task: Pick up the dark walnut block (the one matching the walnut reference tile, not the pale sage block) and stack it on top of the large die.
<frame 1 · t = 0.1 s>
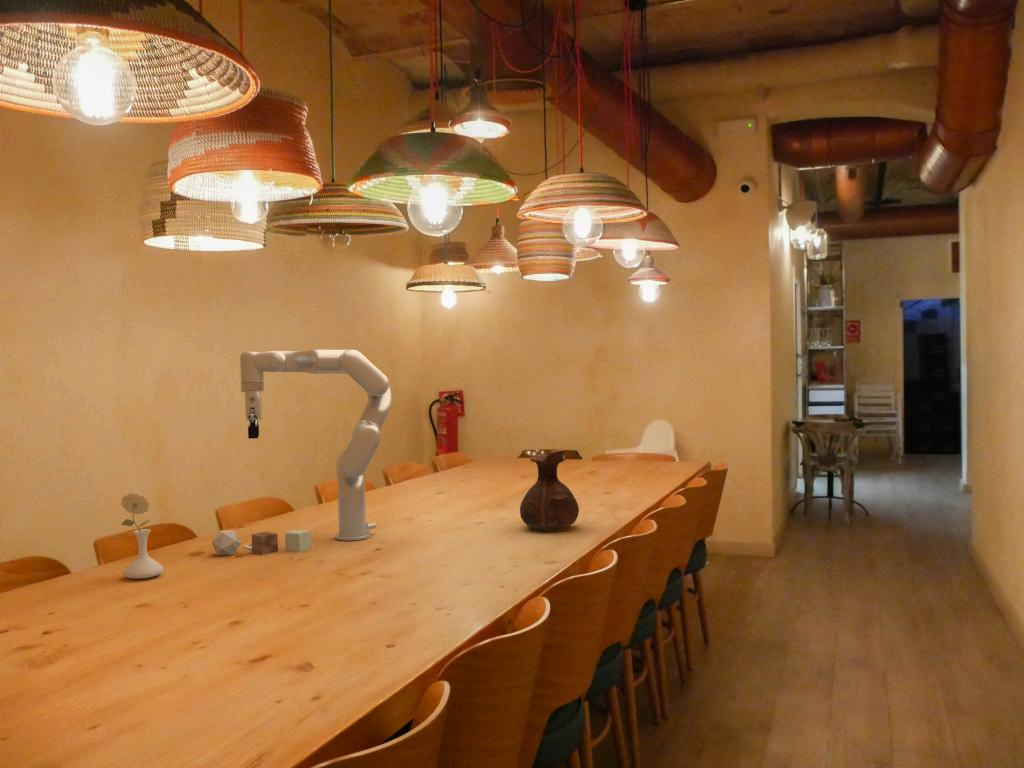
hand: (253, 437, 307), 37 cm above the table, tool pointing down, fingers open, 9 cm apart
walnut block: (265, 551, 296), on the table
dark brown vase: (549, 529, 326), on the table
flower in vase: (141, 577, 265), on the table
die: (226, 555, 293), on the table
sage block: (298, 549, 299), on the table
reference tile: (259, 546, 304), on the table
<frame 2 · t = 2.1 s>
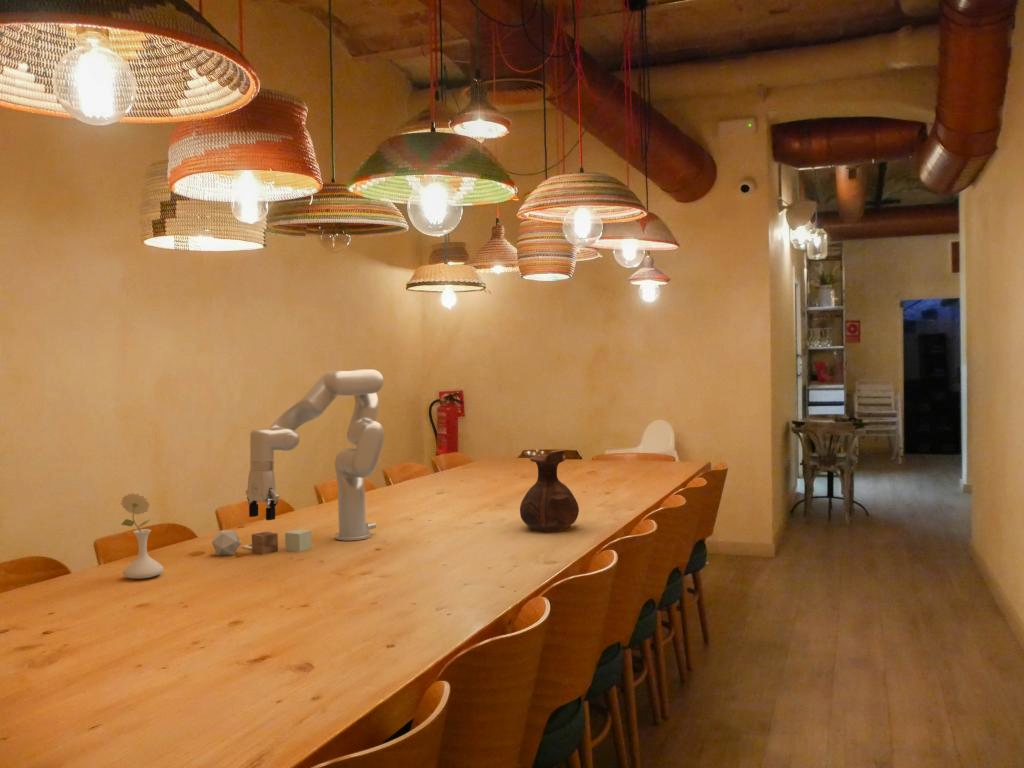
hand: (262, 518, 295), 11 cm above the table, tool pointing down, fingers open, 9 cm apart
nothing on the table moved.
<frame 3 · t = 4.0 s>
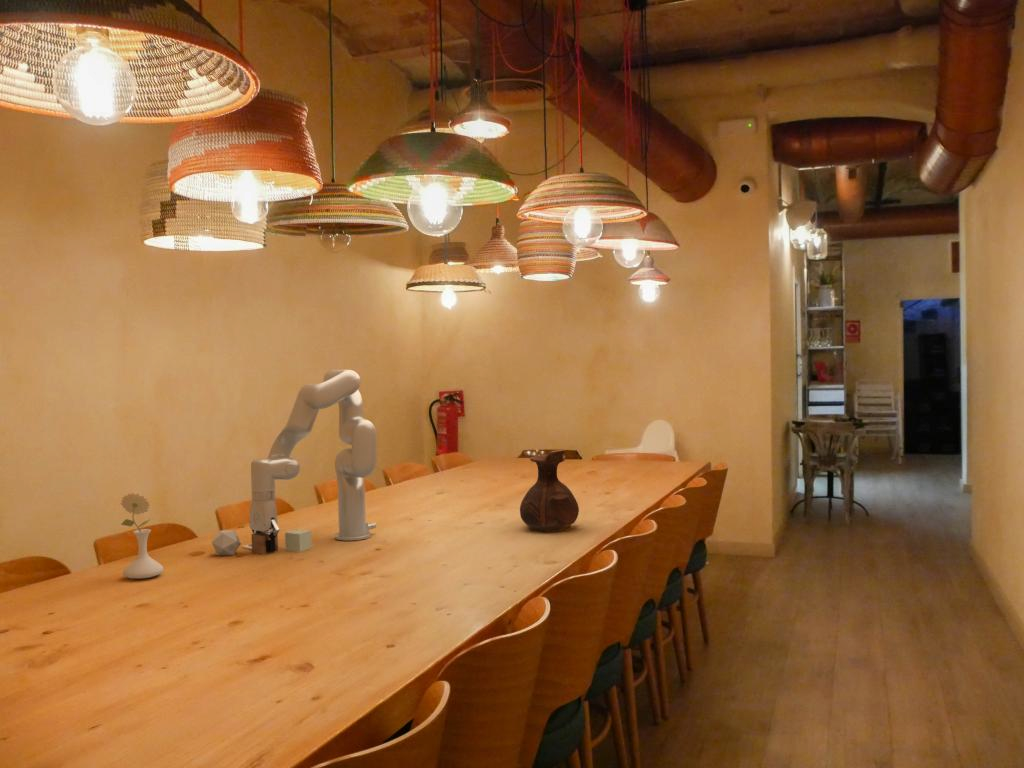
hand: (264, 549, 296), 1 cm above the table, tool pointing down, fingers closed on walnut block, 6 cm apart
walnut block: (265, 551, 296), on the table, touching gripper
everything else where it was.
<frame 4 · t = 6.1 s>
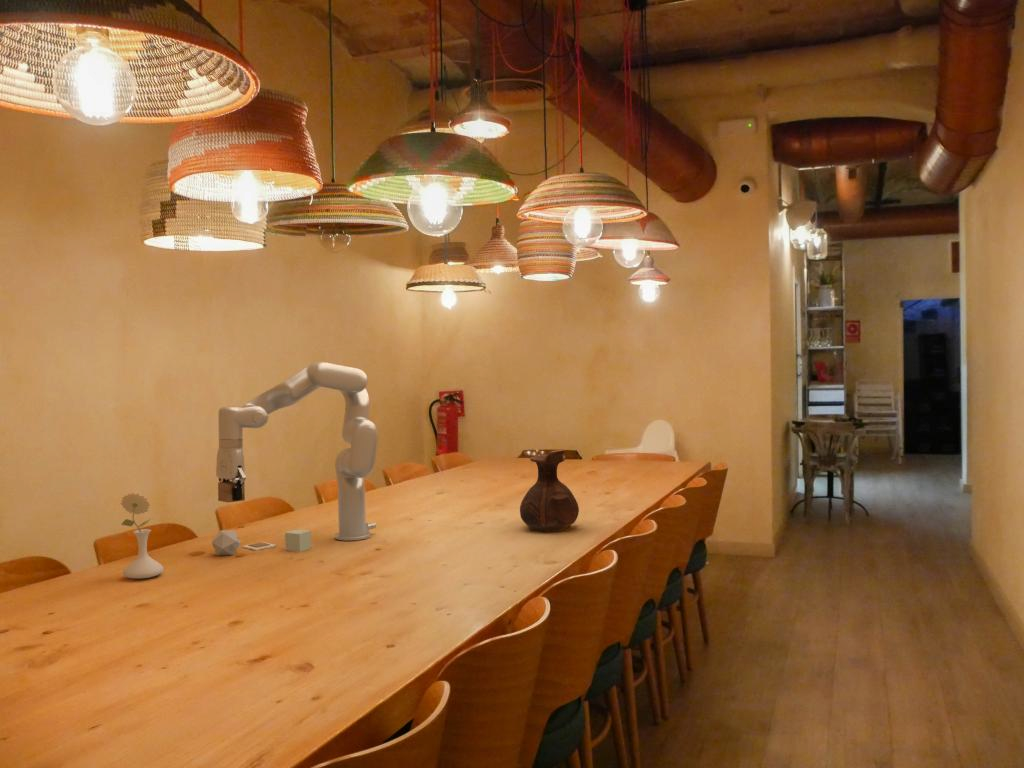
hand: (231, 498, 293), 18 cm above the table, tool pointing down, fingers closed on walnut block, 6 cm apart
walnut block: (231, 500, 293), point 18 cm above the table, touching gripper
everything else where it was.
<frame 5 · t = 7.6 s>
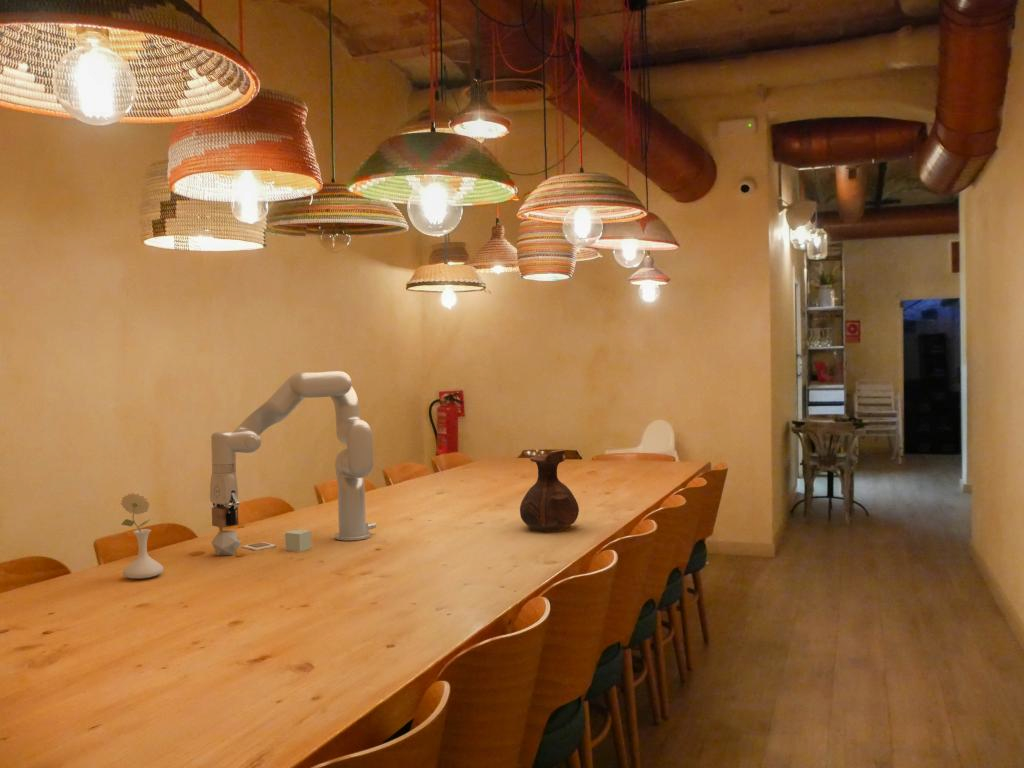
hand: (225, 523, 293), 10 cm above the table, tool pointing down, fingers closed on walnut block, 6 cm apart
walnut block: (225, 525, 293), point 10 cm above the table, touching gripper
everything else where it was.
when the fingers open (9 cm above the table, at t = 8.6 s): walnut block drops 1 cm, resting on die.
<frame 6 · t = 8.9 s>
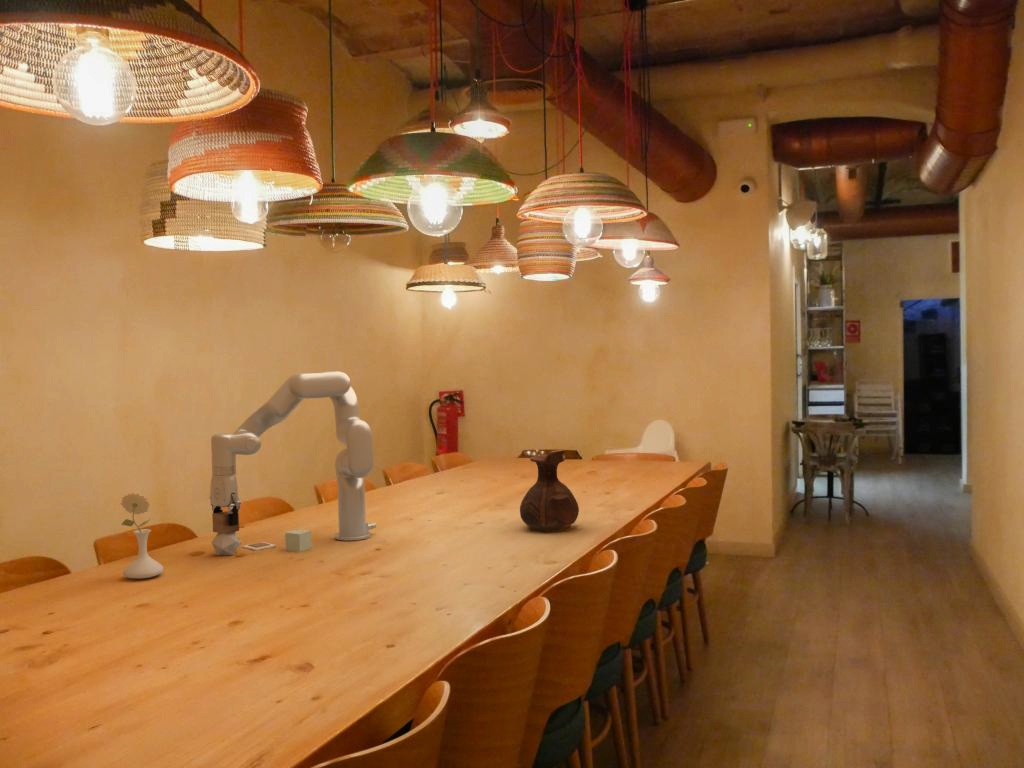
hand: (225, 523, 293), 10 cm above the table, tool pointing down, fingers open, 8 cm apart
walnut block: (226, 531, 293), point 8 cm above the table, touching die
die: (226, 554, 293), on the table, touching walnut block
everything else where it was.
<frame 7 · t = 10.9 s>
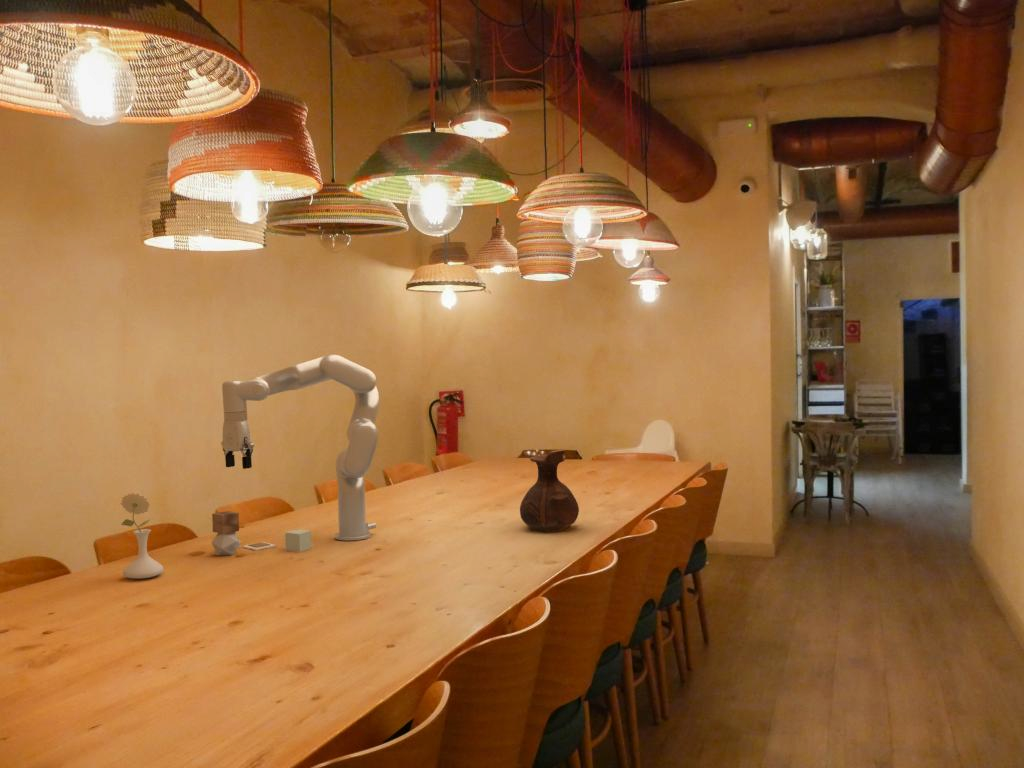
hand: (238, 467, 301), 28 cm above the table, tool pointing down, fingers open, 9 cm apart
nothing on the table moved.
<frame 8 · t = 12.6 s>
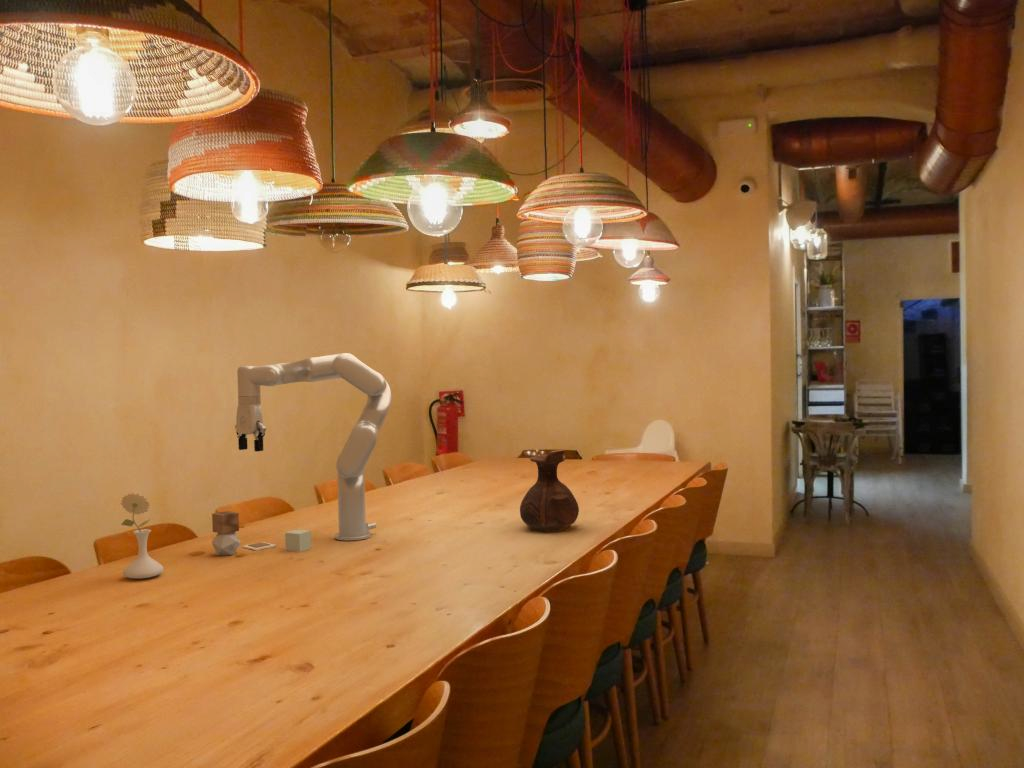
hand: (250, 450, 310), 32 cm above the table, tool pointing down, fingers open, 9 cm apart
nothing on the table moved.
at the end: walnut block inside the target area on the die (0.0 cm from its centre), point 7.9 cm above the die's base; walnut block tilted 0°; the gripper is holding nothing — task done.
